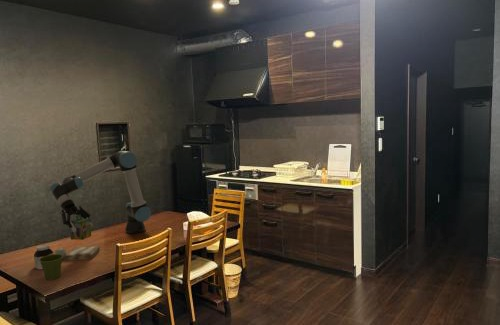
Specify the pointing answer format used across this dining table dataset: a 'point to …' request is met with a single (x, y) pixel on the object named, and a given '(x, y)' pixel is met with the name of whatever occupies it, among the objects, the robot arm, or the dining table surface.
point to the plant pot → (51, 265)
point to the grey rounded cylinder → (61, 252)
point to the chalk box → (81, 229)
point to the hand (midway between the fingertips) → (83, 228)
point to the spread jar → (41, 254)
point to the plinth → (82, 253)
